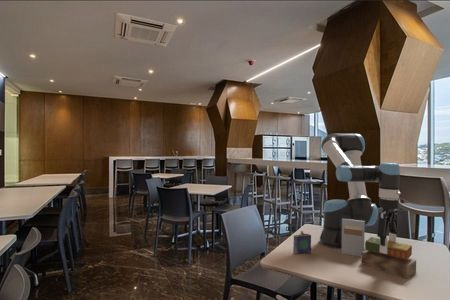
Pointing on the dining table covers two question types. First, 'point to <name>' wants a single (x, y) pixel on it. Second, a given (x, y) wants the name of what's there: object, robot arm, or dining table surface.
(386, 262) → the walnut block
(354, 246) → the board
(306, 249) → the flask
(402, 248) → the carton
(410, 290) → the dining table surface
